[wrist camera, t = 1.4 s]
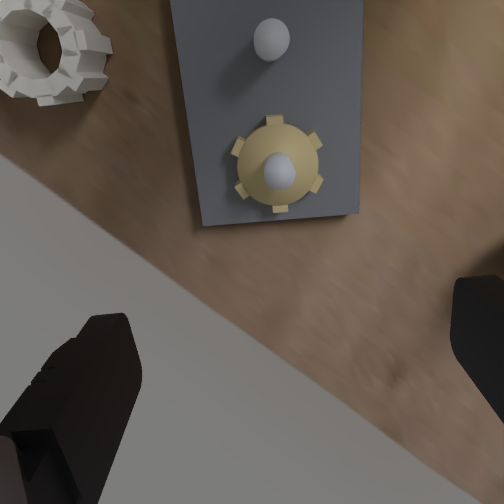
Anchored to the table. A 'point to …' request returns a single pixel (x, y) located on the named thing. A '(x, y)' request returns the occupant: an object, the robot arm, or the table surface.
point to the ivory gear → (72, 43)
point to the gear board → (272, 106)
